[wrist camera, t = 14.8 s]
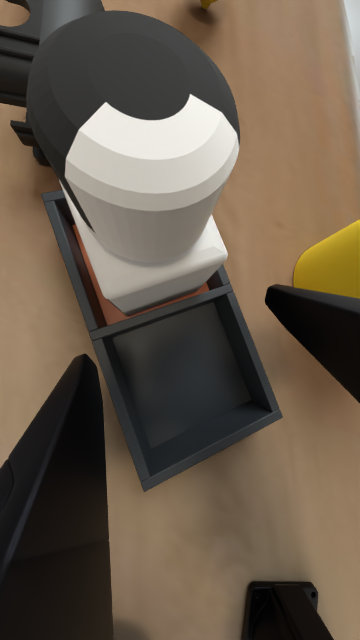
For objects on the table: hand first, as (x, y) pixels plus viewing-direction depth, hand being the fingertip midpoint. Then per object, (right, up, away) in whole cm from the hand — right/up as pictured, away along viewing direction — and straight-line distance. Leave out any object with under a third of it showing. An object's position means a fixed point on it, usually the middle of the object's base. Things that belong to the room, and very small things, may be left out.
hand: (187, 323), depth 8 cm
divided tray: (-2, +1, +8) cm, 9 cm away
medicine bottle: (-3, +5, +8) cm, 10 cm away
